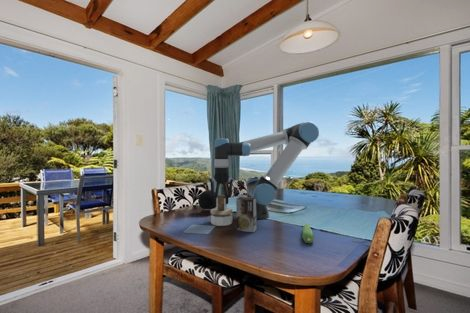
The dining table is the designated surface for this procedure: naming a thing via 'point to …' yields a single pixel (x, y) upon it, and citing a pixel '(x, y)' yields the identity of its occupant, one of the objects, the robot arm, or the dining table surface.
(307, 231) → the green oval lump
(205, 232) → the mat
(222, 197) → the lid
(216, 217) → the bowl
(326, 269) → the dining table surface
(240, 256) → the dining table surface
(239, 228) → the coffee box
